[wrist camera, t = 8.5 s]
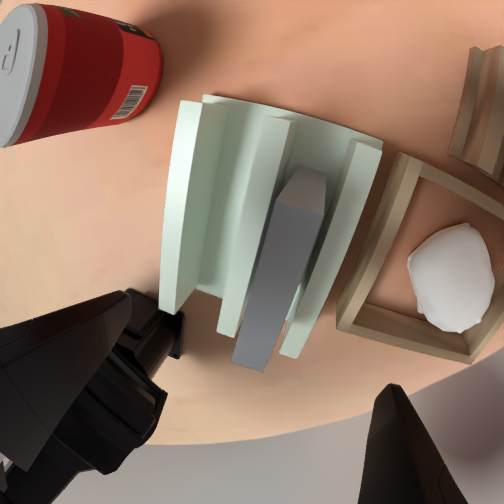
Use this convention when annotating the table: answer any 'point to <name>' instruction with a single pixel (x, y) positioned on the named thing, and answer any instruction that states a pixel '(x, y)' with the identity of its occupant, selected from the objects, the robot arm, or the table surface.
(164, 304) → the dish rack
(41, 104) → the canned food
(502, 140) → the plate stand
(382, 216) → the garlic trivet frame
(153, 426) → the robot arm
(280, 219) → the plate
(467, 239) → the garlic
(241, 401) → the table surface
